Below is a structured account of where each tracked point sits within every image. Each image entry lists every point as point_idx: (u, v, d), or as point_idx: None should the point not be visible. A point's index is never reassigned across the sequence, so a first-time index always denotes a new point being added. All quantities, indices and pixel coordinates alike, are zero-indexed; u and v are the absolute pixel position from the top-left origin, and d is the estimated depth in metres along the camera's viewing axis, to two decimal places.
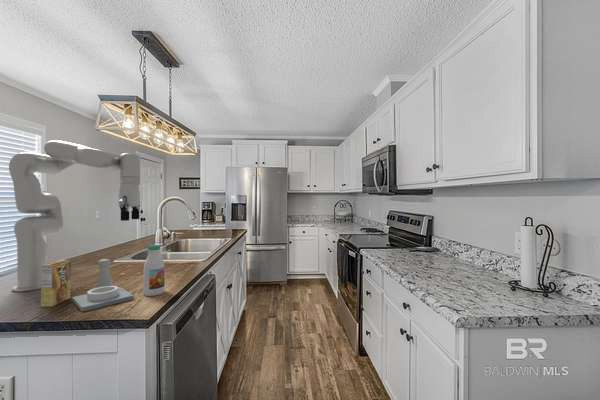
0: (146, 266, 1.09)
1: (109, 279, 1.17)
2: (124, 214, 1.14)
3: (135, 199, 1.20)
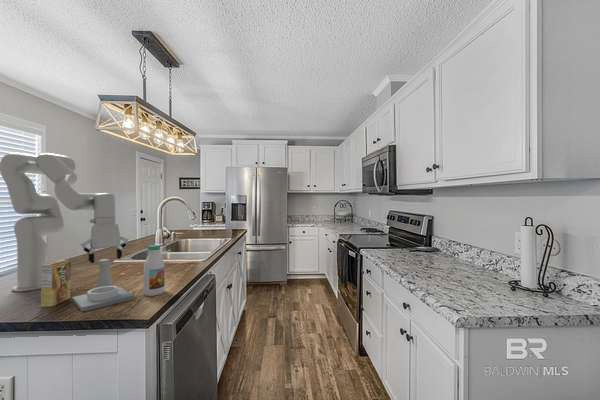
0: (146, 266, 1.09)
1: (109, 279, 1.17)
2: None
3: None
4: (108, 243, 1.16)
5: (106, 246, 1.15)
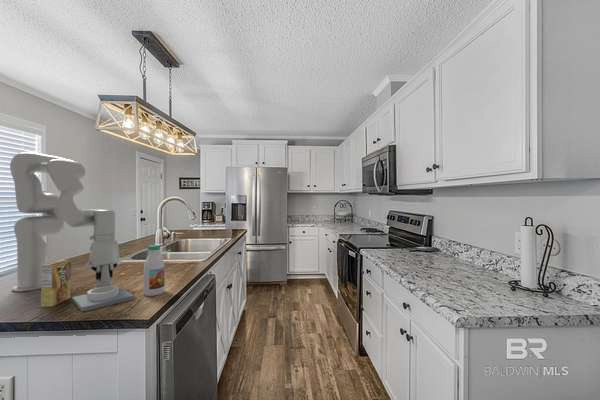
0: (146, 266, 1.09)
1: (109, 279, 1.17)
2: None
3: None
4: (107, 260, 1.16)
5: (105, 263, 1.15)
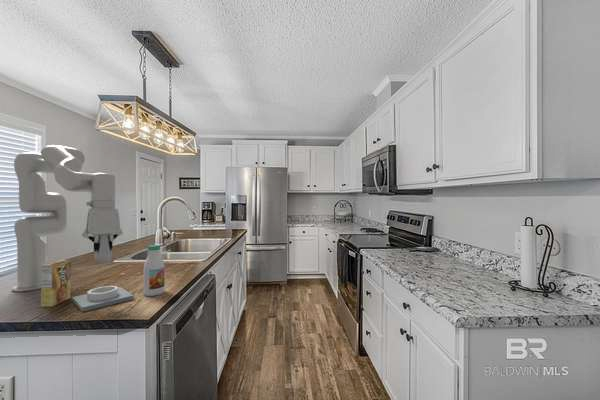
0: (146, 266, 1.09)
1: (108, 251, 1.04)
2: (111, 244, 1.07)
3: None
4: (106, 229, 1.03)
5: (104, 232, 1.03)
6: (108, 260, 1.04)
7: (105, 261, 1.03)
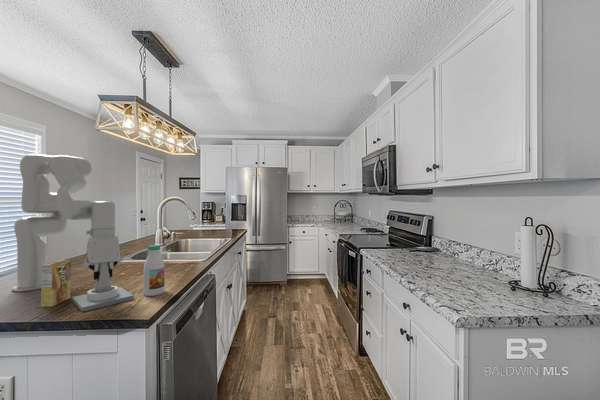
0: (146, 266, 1.09)
1: (108, 279, 1.04)
2: (111, 271, 1.07)
3: None
4: (106, 257, 1.03)
5: (104, 261, 1.03)
6: (108, 288, 1.04)
7: (105, 289, 1.03)
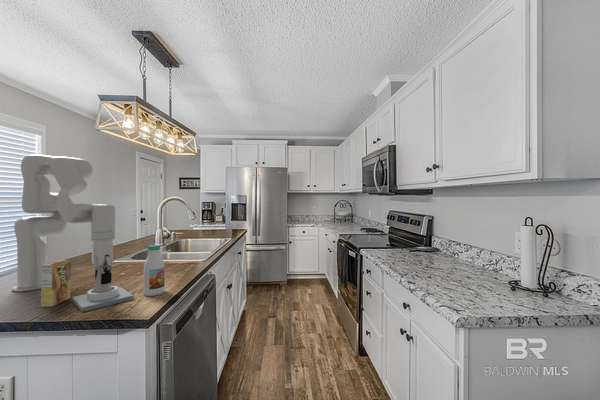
0: (146, 266, 1.09)
1: (96, 286, 1.02)
2: (107, 276, 1.02)
3: None
4: (94, 261, 1.02)
5: (94, 264, 1.03)
6: None
7: None
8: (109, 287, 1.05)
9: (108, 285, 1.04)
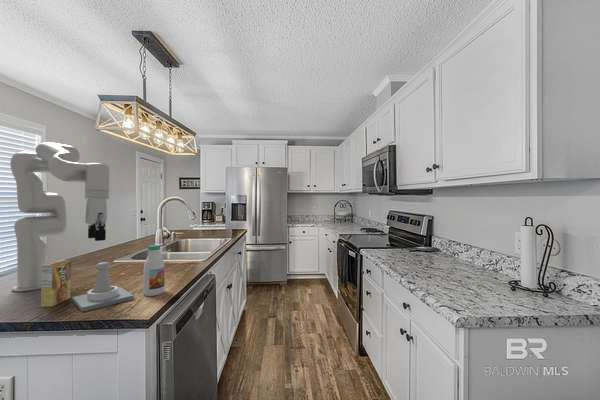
0: (146, 266, 1.09)
1: (96, 286, 1.02)
2: (101, 233, 1.01)
3: None
4: (88, 219, 1.02)
5: (87, 222, 1.03)
6: None
7: None
8: (109, 287, 1.05)
9: (108, 285, 1.04)
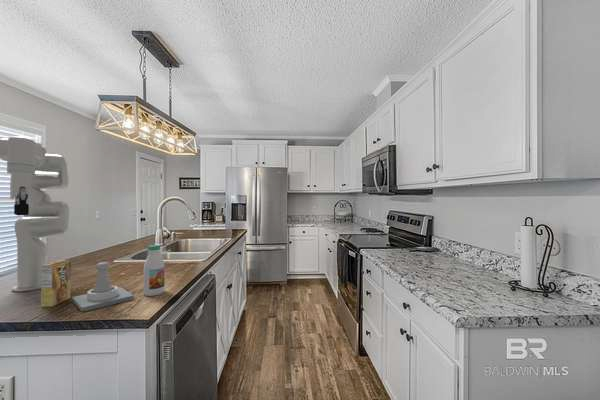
0: (146, 266, 1.09)
1: (96, 286, 1.02)
2: (23, 208, 0.99)
3: None
4: (10, 194, 1.00)
5: (10, 197, 1.01)
6: None
7: None
8: (109, 287, 1.05)
9: (108, 285, 1.04)
